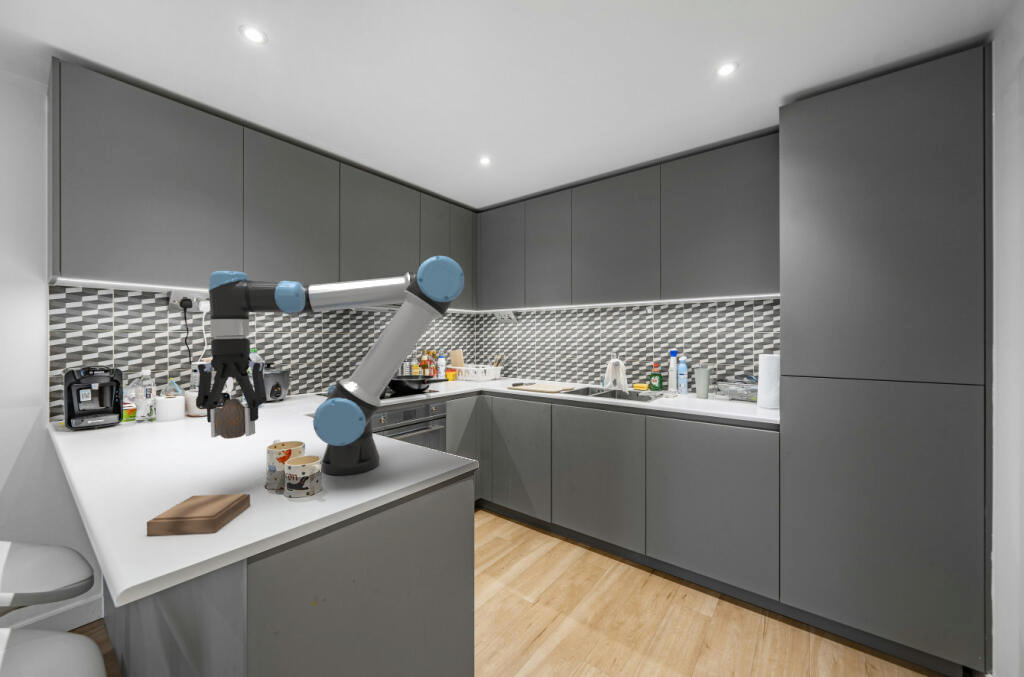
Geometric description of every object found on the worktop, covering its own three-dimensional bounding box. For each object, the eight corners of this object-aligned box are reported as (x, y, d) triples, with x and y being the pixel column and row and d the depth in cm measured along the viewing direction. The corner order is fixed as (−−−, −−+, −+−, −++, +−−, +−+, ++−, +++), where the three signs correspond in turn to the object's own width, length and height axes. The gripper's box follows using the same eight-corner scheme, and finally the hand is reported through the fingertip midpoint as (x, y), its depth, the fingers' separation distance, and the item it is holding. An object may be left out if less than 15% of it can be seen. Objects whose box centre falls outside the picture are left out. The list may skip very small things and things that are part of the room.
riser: (250, 506, 89) (249, 492, 89) (214, 532, 77) (214, 517, 77) (191, 508, 88) (191, 494, 88) (147, 535, 76) (146, 520, 76)
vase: (254, 436, 96) (252, 399, 96) (218, 442, 92) (216, 403, 91) (247, 431, 101) (246, 396, 101) (213, 436, 97) (212, 399, 96)
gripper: (282, 336, 101) (284, 429, 101) (196, 338, 99) (199, 433, 99) (266, 337, 93) (269, 437, 93) (173, 339, 91) (177, 441, 92)
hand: (233, 435), depth 96 cm, fingers closed on vase, 7 cm apart
